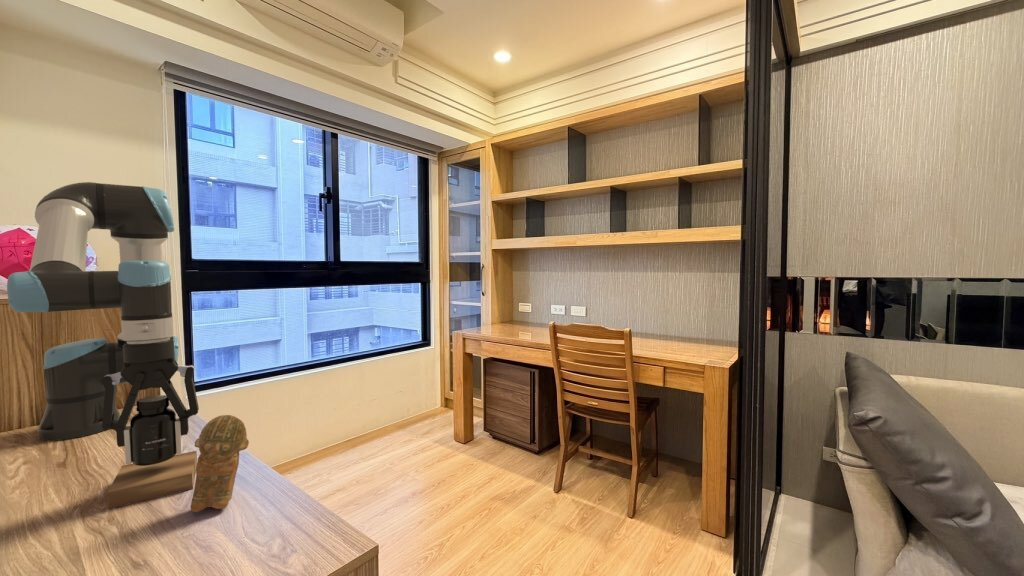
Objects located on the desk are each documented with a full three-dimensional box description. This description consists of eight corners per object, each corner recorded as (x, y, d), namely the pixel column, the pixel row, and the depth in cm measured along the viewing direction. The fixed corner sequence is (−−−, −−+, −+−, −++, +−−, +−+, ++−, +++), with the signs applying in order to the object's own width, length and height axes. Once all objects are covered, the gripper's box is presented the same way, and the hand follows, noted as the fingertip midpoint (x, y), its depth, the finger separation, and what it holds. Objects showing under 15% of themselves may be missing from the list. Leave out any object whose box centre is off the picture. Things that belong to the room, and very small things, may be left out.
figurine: (189, 521, 71) (184, 434, 70) (199, 497, 78) (195, 418, 77) (248, 507, 75) (244, 425, 74) (252, 486, 82) (248, 410, 81)
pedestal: (122, 480, 85) (122, 465, 84) (197, 464, 91) (196, 450, 91) (108, 509, 75) (107, 492, 74) (192, 488, 81) (191, 473, 81)
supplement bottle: (151, 468, 78) (147, 405, 78) (122, 465, 80) (118, 403, 79) (186, 452, 85) (183, 394, 85) (159, 449, 87) (156, 392, 86)
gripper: (70, 349, 73) (79, 478, 74) (210, 337, 84) (216, 450, 85) (83, 342, 79) (91, 462, 80) (212, 332, 90) (217, 437, 91)
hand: (155, 455), depth 83 cm, fingers closed on supplement bottle, 7 cm apart
